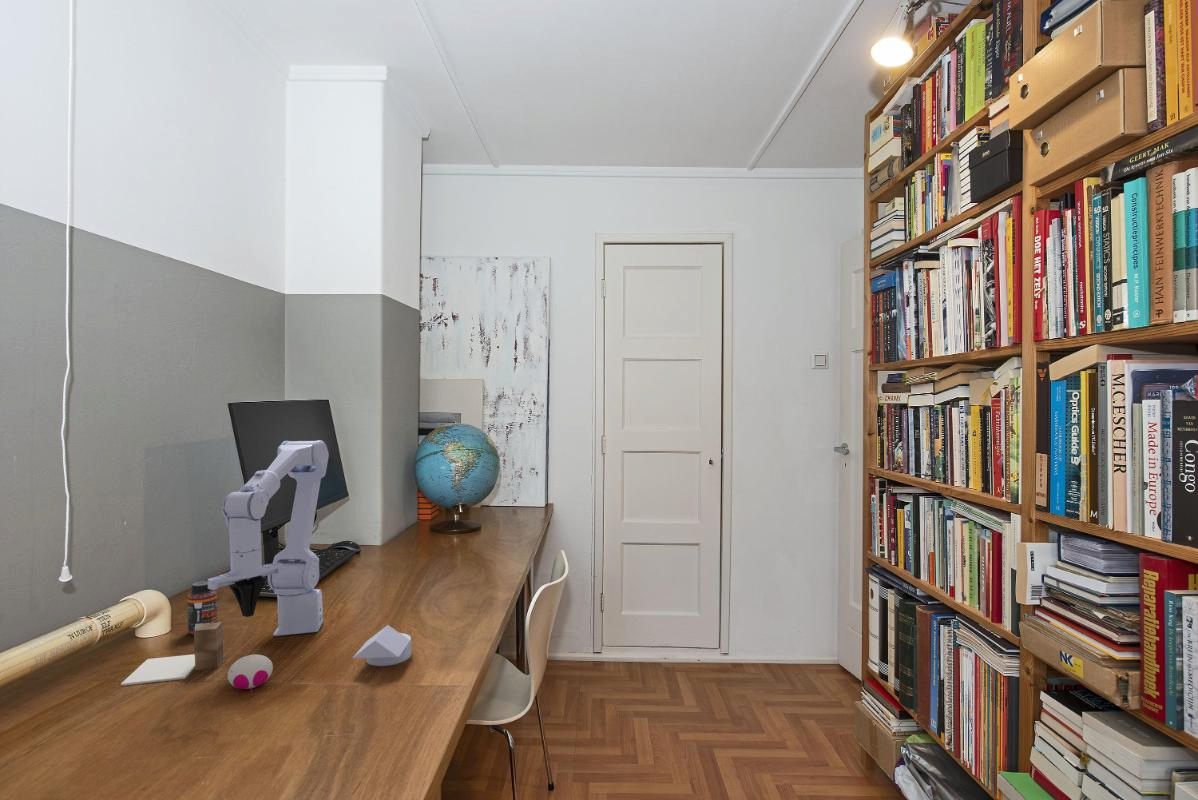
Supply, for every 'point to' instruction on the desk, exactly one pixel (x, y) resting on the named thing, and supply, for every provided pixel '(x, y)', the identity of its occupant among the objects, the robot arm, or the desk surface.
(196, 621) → the supplement bottle
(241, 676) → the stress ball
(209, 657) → the walnut block
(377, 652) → the wedge on round base
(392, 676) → the desk surface
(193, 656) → the felt mat
